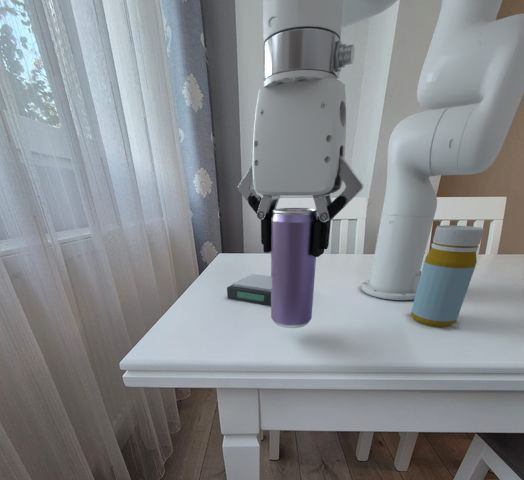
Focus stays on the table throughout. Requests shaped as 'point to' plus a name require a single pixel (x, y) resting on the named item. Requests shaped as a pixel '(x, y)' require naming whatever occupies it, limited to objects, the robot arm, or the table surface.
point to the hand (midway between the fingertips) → (293, 251)
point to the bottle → (446, 275)
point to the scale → (251, 289)
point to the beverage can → (292, 266)
